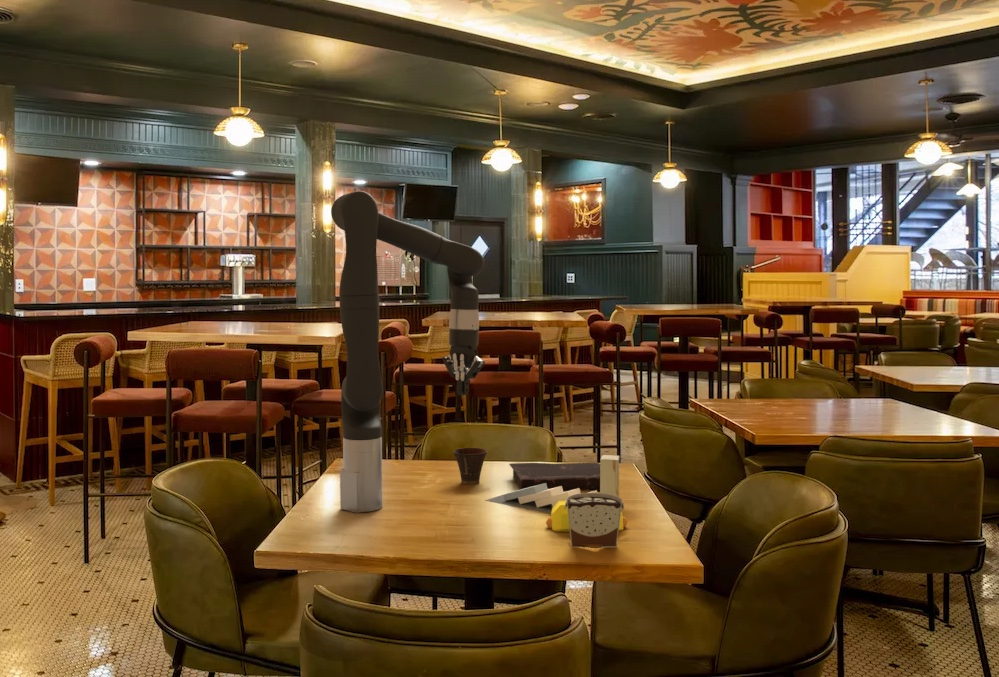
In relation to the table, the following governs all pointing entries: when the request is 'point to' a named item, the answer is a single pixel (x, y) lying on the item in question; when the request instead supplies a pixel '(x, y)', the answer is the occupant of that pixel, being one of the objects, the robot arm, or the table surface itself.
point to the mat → (527, 505)
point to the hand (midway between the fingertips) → (462, 394)
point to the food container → (594, 519)
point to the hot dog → (561, 520)
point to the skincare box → (609, 475)
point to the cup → (470, 464)
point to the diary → (558, 475)
